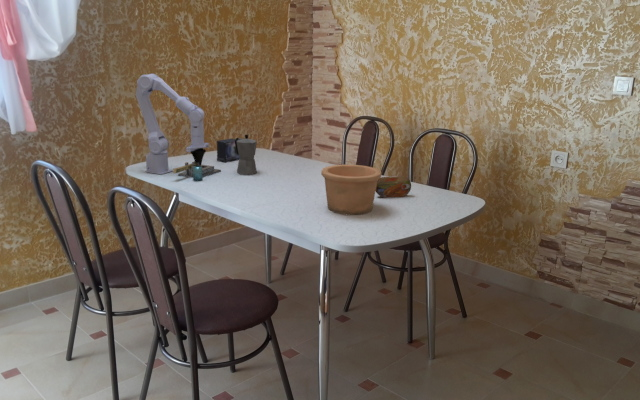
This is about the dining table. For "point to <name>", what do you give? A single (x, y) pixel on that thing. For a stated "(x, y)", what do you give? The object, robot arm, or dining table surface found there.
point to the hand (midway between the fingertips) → (198, 165)
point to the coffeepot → (246, 155)
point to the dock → (206, 170)
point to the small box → (227, 150)
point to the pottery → (350, 188)
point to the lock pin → (185, 167)
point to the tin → (393, 186)
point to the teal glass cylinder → (197, 173)
